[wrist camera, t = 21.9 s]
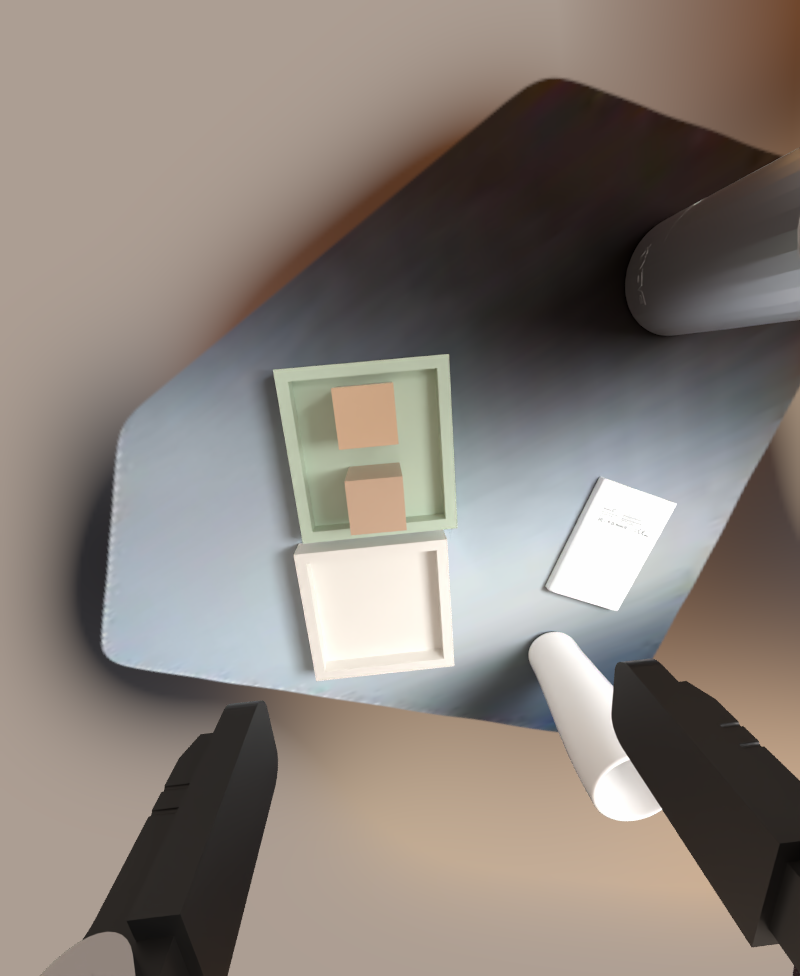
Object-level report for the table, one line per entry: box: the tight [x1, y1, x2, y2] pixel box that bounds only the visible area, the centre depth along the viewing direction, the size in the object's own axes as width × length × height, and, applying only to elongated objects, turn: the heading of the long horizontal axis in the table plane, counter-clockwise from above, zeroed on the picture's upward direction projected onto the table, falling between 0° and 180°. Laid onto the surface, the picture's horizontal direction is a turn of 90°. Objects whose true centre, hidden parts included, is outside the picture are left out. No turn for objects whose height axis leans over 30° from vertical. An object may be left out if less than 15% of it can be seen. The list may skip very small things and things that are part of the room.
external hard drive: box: [545, 477, 677, 611], centre depth 39 cm, size 2×8×12 cm
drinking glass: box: [528, 632, 662, 821], centre depth 36 cm, size 7×7×15 cm
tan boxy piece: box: [331, 382, 399, 450], centre depth 31 cm, size 4×4×5 cm
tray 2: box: [294, 530, 454, 681], centre depth 39 cm, size 14×14×2 cm
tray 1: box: [273, 354, 457, 544], centre depth 34 cm, size 14×15×2 cm
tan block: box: [344, 462, 407, 535], centre depth 33 cm, size 4×4×5 cm
